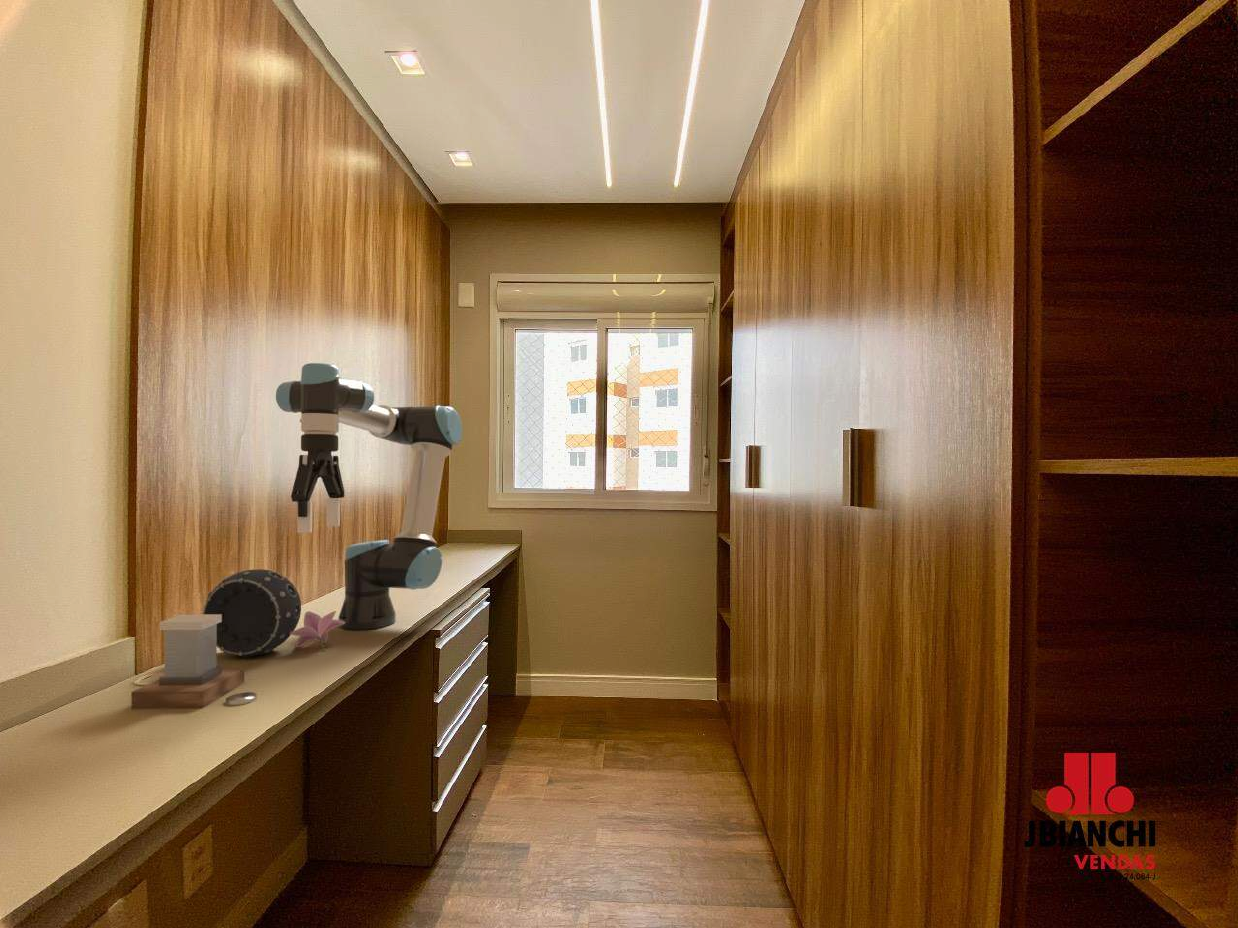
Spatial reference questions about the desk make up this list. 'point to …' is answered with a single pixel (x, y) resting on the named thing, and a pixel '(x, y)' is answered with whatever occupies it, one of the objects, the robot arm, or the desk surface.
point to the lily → (316, 628)
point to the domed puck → (241, 698)
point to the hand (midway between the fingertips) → (319, 529)
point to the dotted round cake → (254, 611)
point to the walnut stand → (187, 692)
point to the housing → (190, 649)
